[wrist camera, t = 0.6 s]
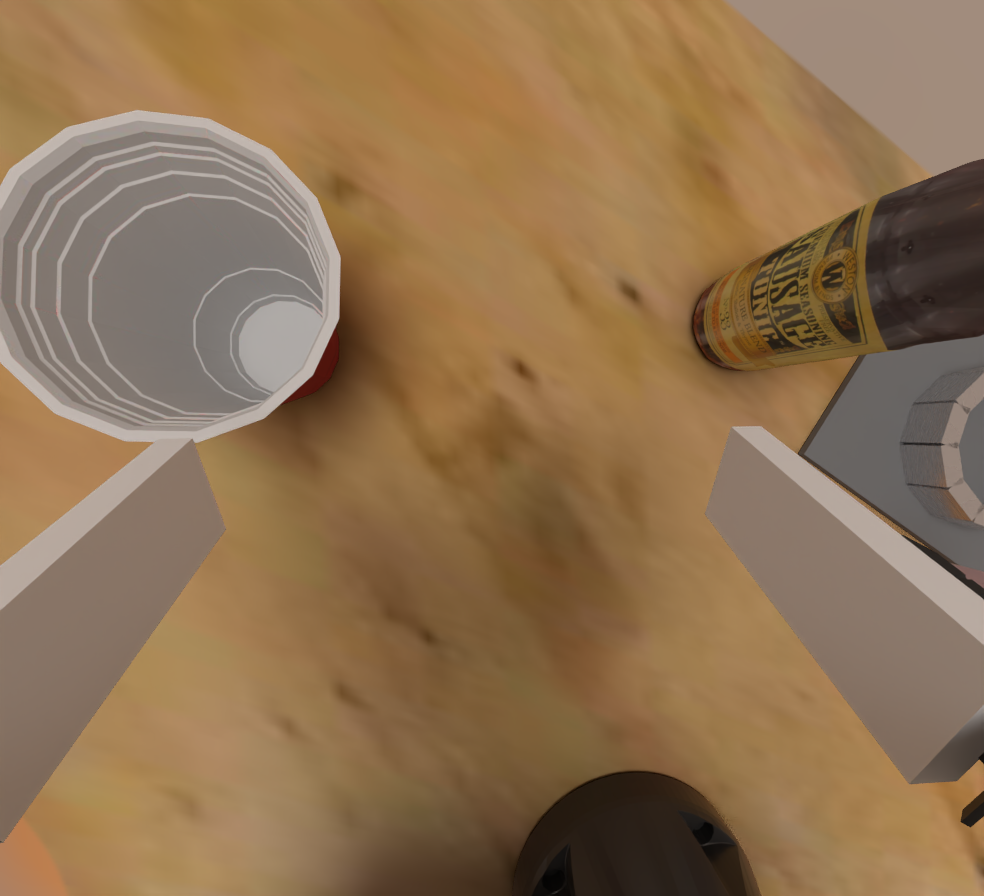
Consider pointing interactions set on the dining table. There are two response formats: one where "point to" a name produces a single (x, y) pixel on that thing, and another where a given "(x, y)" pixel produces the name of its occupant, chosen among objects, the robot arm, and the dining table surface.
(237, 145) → the plastic cup
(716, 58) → the dining table surface
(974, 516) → the white segmented ring
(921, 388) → the holder mat
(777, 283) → the sauce bottle
